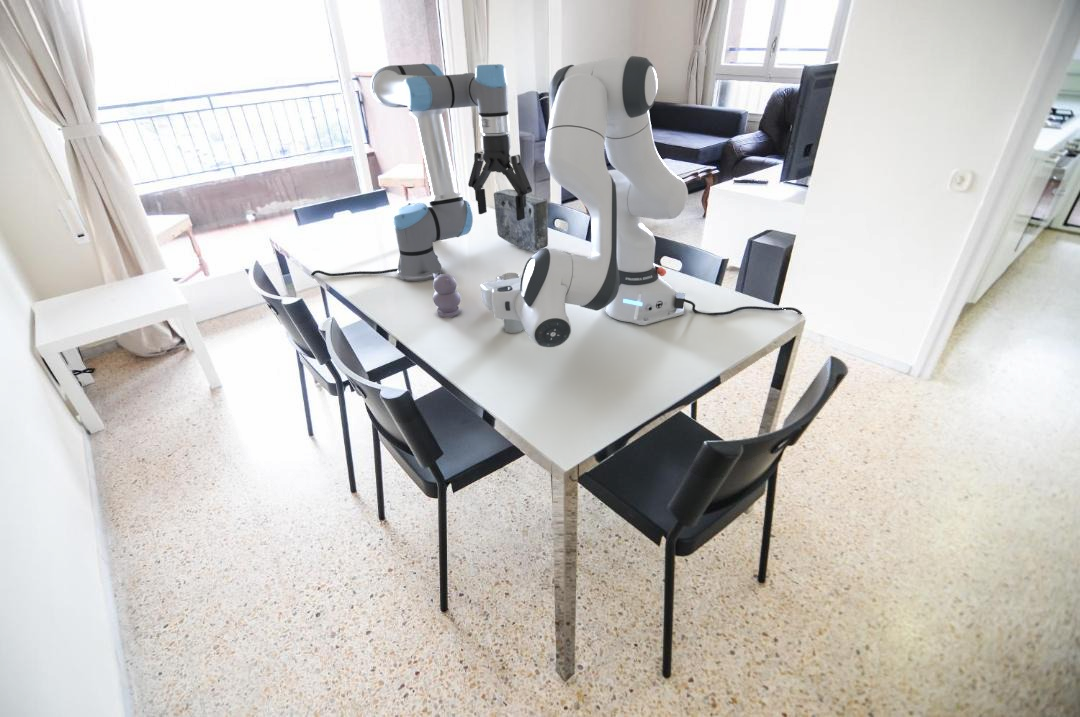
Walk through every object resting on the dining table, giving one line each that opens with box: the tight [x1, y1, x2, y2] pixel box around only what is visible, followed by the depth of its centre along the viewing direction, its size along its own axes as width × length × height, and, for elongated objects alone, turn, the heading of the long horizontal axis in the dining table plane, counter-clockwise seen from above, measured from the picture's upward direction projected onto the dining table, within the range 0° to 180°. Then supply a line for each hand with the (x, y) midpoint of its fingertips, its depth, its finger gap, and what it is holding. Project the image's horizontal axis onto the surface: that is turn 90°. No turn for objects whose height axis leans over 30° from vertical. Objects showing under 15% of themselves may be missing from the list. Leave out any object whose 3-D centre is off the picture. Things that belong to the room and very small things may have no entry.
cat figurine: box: [432, 273, 462, 318], centre depth 145 cm, size 9×8×12 cm
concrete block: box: [493, 188, 549, 252], centre depth 191 cm, size 27×9×20 cm, turn 36°
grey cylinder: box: [501, 272, 525, 334], centre depth 134 cm, size 5×5×16 cm
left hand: (501, 216), depth 139 cm, fingers open, 13 cm apart
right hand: (519, 276), depth 118 cm, fingers open, 8 cm apart
